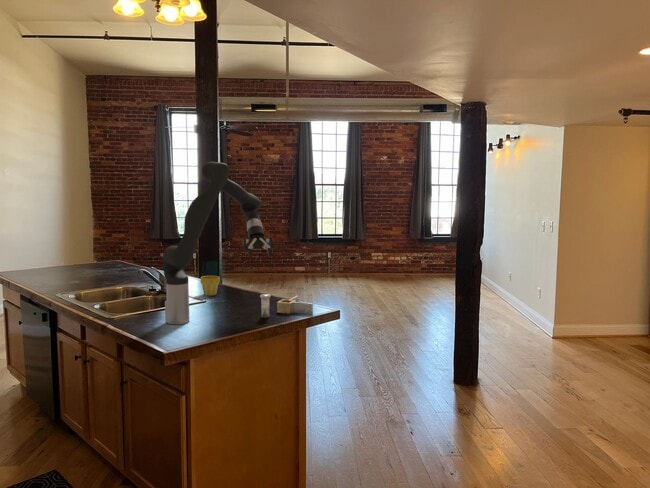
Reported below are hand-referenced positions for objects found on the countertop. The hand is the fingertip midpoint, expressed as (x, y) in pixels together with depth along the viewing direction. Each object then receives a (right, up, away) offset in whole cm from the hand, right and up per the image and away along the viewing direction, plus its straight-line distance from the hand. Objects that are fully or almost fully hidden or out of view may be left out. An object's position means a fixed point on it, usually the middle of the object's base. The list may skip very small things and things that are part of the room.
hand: (260, 256), depth 227 cm
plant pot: (-33, -22, +43) cm, 59 cm away
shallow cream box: (+18, -26, +7) cm, 33 cm away
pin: (+3, -27, -6) cm, 28 cm away
